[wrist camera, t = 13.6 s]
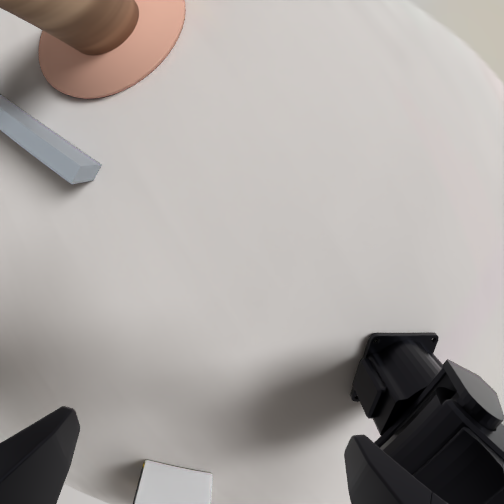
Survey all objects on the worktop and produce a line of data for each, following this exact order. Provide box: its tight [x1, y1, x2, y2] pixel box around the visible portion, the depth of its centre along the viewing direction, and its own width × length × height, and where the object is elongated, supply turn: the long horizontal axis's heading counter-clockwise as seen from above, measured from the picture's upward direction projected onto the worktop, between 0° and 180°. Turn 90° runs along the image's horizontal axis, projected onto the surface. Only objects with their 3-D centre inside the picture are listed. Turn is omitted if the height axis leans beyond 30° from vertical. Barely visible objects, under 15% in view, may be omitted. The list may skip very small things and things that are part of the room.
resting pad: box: [39, 0, 185, 99], centre depth 15 cm, size 11×11×1 cm
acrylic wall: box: [0, 94, 102, 184], centre depth 16 cm, size 14×1×3 cm, turn 55°
